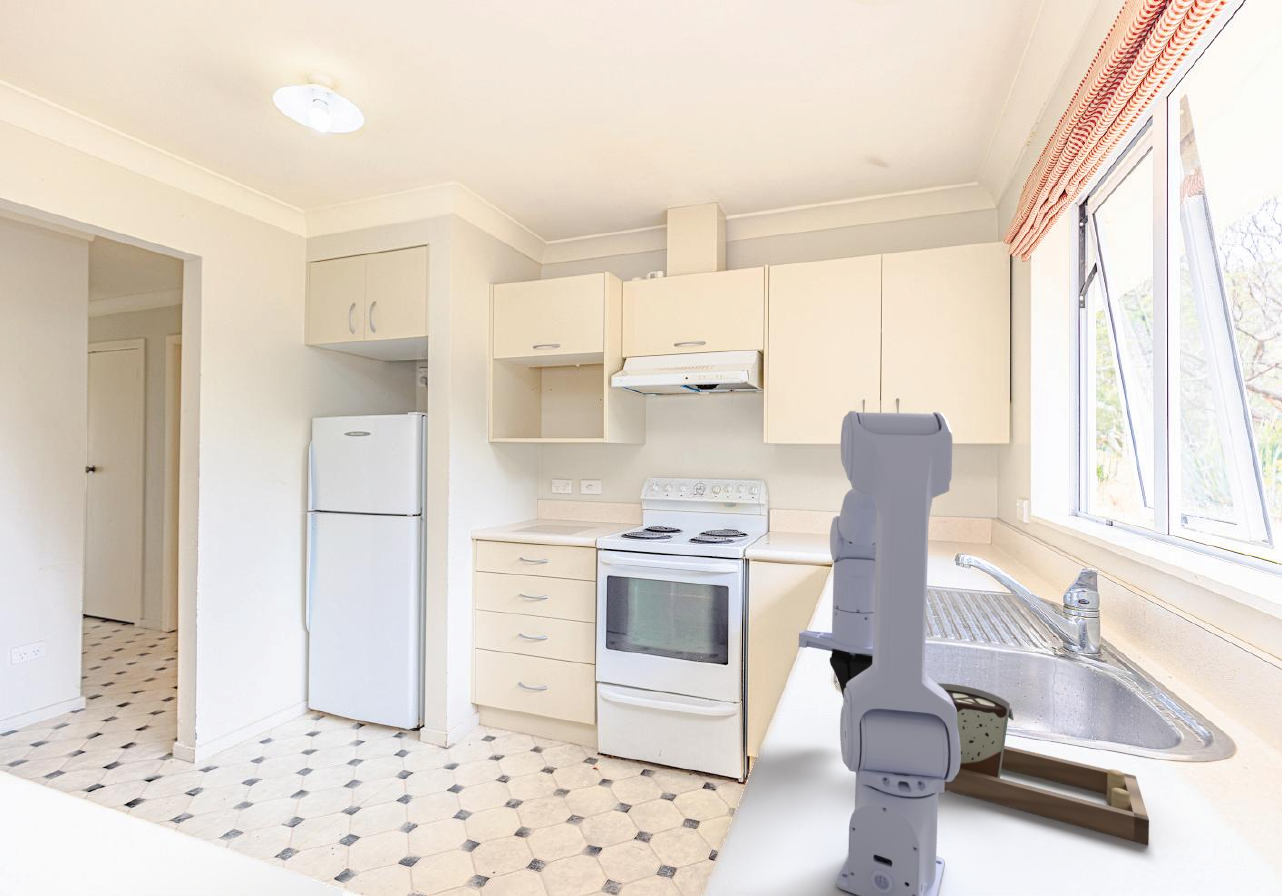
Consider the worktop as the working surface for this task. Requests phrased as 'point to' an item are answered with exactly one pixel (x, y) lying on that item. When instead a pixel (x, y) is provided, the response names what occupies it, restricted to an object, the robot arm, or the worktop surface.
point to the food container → (980, 727)
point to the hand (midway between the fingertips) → (851, 708)
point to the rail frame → (1120, 788)
